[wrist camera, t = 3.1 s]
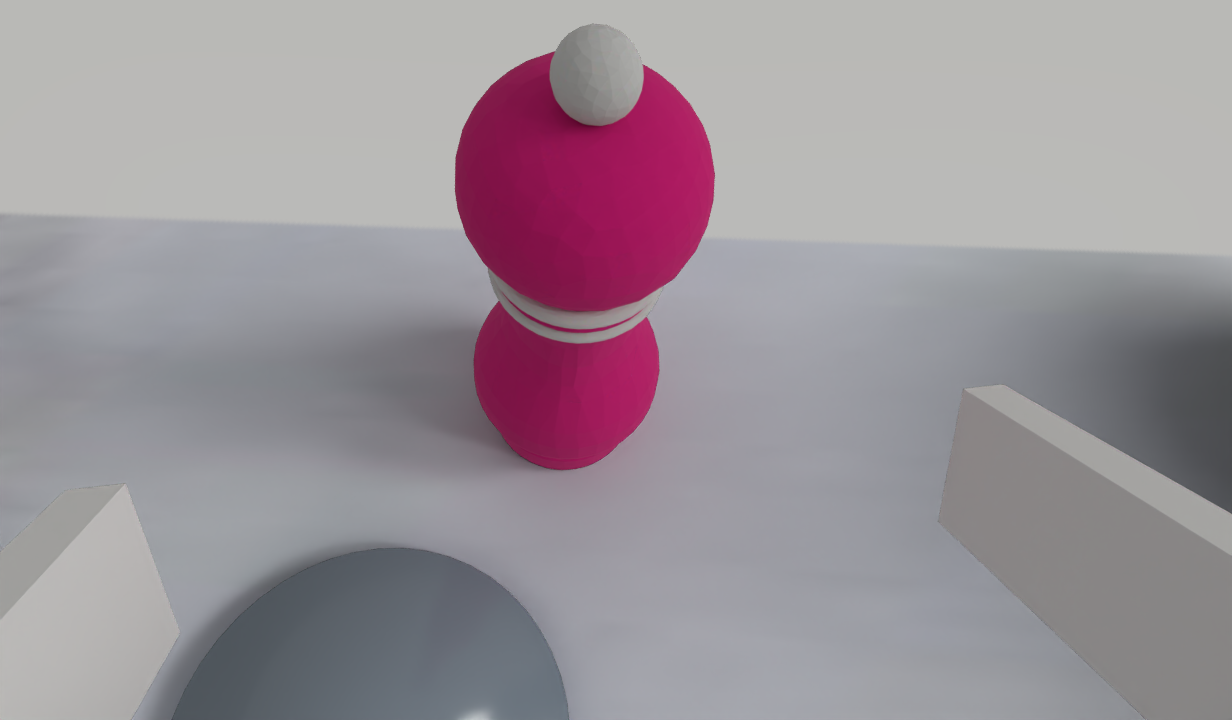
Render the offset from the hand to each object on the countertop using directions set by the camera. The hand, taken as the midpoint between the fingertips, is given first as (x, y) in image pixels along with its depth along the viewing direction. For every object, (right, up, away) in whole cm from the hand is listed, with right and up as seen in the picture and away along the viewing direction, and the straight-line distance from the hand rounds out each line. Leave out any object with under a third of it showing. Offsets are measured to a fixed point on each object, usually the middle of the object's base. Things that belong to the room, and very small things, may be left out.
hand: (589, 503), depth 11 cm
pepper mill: (-2, 0, +19) cm, 20 cm away
